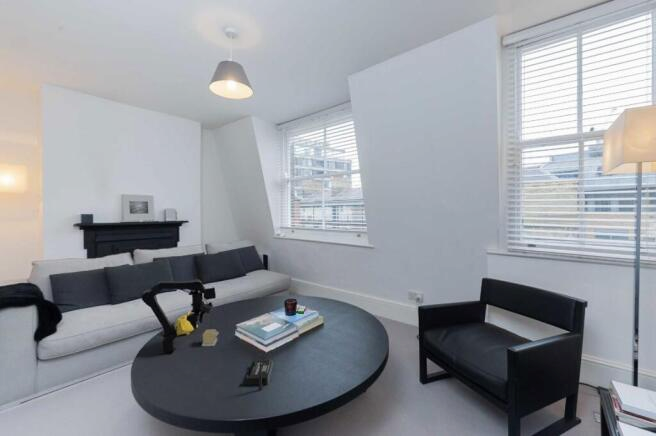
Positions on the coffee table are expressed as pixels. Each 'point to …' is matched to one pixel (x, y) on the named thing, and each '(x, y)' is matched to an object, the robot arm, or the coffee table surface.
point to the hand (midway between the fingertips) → (198, 326)
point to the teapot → (184, 325)
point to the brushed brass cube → (209, 336)
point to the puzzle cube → (301, 309)
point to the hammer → (211, 343)
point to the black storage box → (259, 373)
